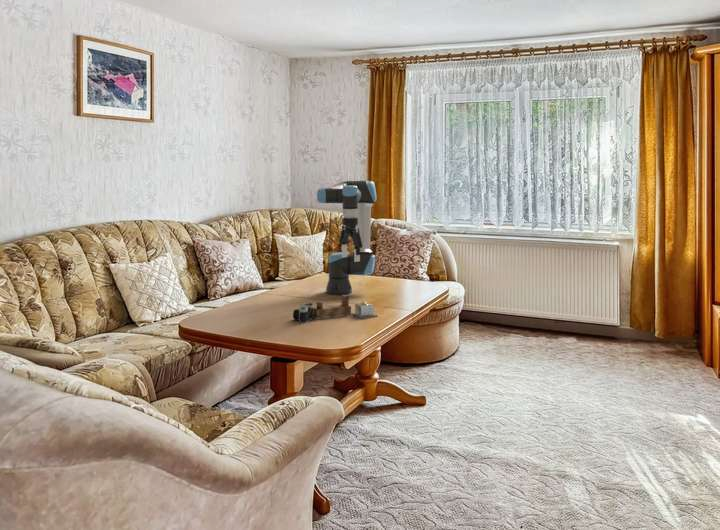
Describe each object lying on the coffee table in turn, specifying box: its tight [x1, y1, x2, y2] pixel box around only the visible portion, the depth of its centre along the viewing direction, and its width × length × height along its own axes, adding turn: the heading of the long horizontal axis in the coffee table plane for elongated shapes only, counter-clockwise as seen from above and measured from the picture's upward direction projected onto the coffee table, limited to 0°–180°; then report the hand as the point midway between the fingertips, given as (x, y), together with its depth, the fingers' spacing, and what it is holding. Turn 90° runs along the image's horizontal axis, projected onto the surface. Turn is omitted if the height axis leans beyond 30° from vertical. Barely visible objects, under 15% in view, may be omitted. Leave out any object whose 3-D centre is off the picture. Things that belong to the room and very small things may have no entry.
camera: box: [292, 302, 314, 324], centre depth 271 cm, size 13×8×9 cm, turn 170°
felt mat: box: [351, 312, 378, 320], centre depth 280 cm, size 10×9×1 cm
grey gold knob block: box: [354, 301, 375, 316], centre depth 280 cm, size 6×7×6 cm
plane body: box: [312, 294, 353, 320], centre depth 278 cm, size 19×5×10 cm, turn 117°
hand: (350, 259), depth 289 cm, fingers open, 13 cm apart
